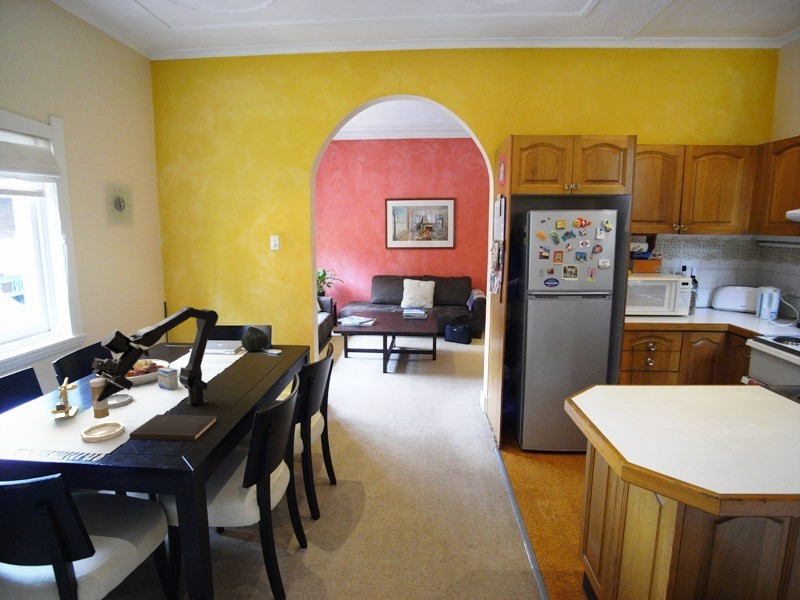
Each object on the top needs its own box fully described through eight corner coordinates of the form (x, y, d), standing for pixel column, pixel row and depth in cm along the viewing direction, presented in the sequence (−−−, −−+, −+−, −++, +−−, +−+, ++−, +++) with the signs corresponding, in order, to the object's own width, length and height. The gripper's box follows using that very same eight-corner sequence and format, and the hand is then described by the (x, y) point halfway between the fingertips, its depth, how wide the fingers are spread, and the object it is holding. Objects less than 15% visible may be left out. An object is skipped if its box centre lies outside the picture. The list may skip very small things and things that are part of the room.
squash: (271, 343, 253) (265, 321, 260) (244, 347, 246) (239, 325, 253) (268, 354, 264) (263, 333, 271) (242, 358, 257) (238, 337, 263)
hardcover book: (157, 420, 164) (157, 414, 163) (217, 421, 162) (216, 415, 162) (129, 440, 148) (129, 433, 148) (195, 442, 147) (194, 435, 146)
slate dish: (136, 402, 179) (135, 398, 179) (102, 411, 170) (101, 406, 170) (125, 395, 187) (125, 391, 187) (93, 403, 178) (92, 399, 178)
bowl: (81, 384, 200) (79, 368, 199) (139, 366, 228) (138, 351, 227) (129, 392, 191) (128, 375, 189) (183, 372, 219) (182, 357, 217)
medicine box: (158, 387, 196) (156, 369, 195) (167, 384, 200) (166, 366, 199) (169, 390, 193) (168, 371, 191) (178, 387, 197) (177, 369, 195)
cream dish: (128, 433, 152) (128, 428, 151) (88, 445, 143) (87, 440, 142) (117, 423, 159) (116, 418, 159) (77, 434, 150) (77, 429, 150)
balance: (62, 407, 173) (59, 376, 171) (81, 405, 176) (77, 373, 174) (51, 426, 157) (46, 391, 155) (71, 422, 160) (67, 388, 158)
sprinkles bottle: (94, 415, 151) (89, 378, 149) (110, 412, 153) (105, 376, 151) (93, 420, 147) (88, 382, 145) (109, 417, 149) (105, 380, 147)
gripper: (96, 344, 155) (63, 383, 148) (119, 353, 144) (84, 395, 137) (122, 360, 163) (92, 397, 155) (146, 369, 152) (115, 410, 145)
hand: (95, 399), depth 148 cm, fingers closed on sprinkles bottle, 4 cm apart
